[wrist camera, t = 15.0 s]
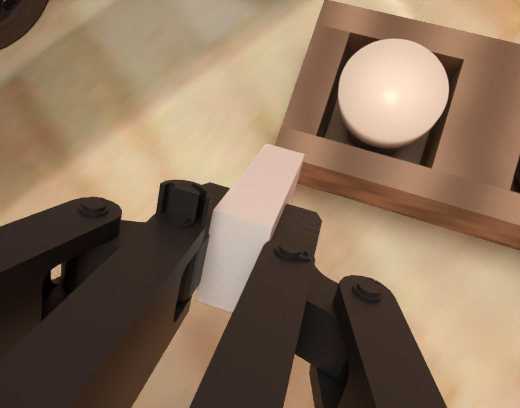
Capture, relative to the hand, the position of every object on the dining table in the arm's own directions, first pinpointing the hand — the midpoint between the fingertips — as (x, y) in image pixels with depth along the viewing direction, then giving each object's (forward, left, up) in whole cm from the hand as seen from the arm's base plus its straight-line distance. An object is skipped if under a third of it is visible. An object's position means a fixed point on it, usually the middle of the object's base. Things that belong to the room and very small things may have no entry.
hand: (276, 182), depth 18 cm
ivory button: (-8, +7, -20) cm, 23 cm away
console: (-5, +13, -22) cm, 27 cm away
